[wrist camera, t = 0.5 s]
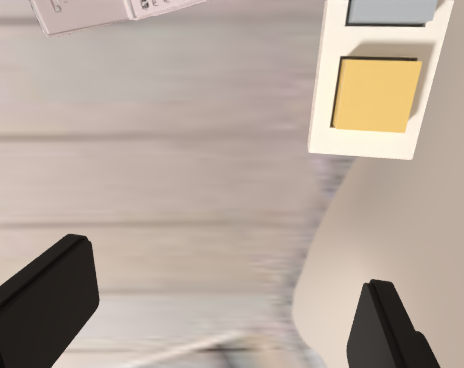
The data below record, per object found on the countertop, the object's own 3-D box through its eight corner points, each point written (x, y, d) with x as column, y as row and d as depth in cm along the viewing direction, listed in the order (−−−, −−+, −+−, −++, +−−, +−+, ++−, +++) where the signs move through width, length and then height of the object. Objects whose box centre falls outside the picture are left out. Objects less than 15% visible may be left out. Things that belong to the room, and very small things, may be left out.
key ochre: (342, 59, 28) (347, 59, 26) (411, 61, 27) (422, 61, 25) (332, 123, 31) (336, 129, 28) (396, 127, 30) (404, 133, 27)
